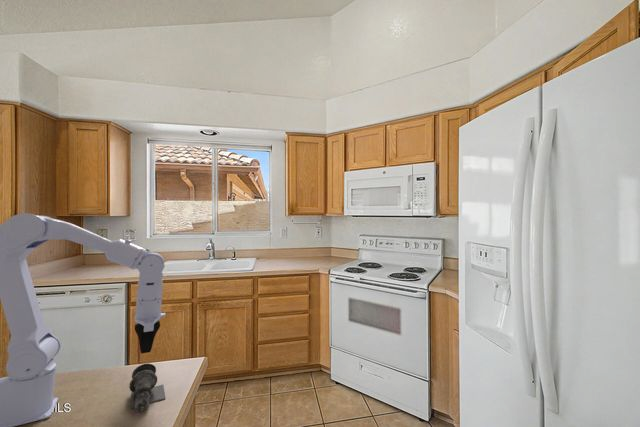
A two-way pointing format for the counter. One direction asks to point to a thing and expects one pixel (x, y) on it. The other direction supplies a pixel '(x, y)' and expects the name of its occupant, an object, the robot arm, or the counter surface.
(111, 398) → the counter surface
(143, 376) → the dark grey chess piece
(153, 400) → the charcoal mat
